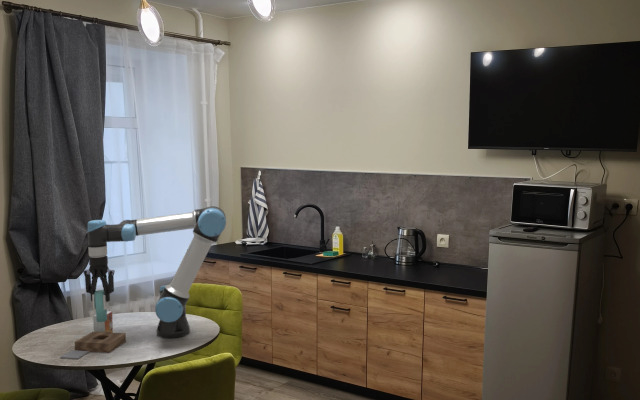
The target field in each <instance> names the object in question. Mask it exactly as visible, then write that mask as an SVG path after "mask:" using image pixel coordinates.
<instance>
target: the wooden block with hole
mask: <svg viewBox="0 0 640 400" xmlns="http://www.w3.org/2000/svg"><path fill="white" fill-rule="evenodd" d="M125 343H127V333H125V332H113V333H112V332H94V331H91V332H89V333H87V334H85V336H84V335H83V337H81V338H79V339H77V340H76V341H74V350H76V351H89V353H105V354H110V353H112V352H114V351H115V350H116V349H117V348H119V347H120V346H122V345H124V344H125Z"/></svg>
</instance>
